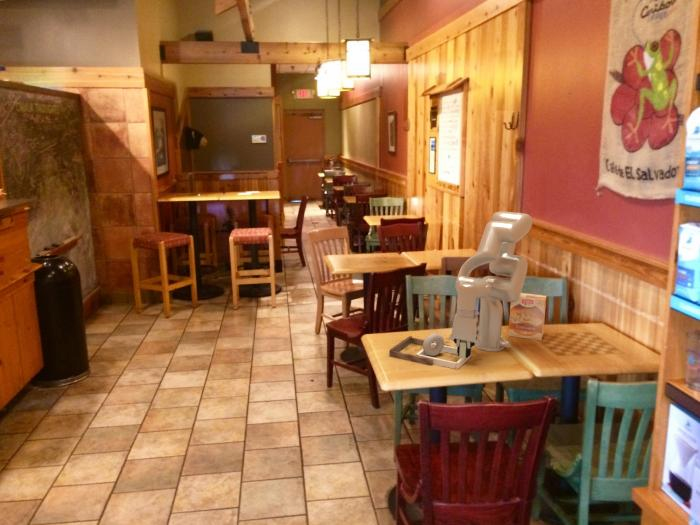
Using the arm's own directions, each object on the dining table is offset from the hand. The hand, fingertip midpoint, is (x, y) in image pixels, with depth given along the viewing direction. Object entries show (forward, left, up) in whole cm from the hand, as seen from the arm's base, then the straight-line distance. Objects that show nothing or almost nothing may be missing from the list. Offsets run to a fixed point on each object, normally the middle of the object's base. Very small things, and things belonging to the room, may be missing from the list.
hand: (463, 355), depth 240 cm
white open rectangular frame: (+9, 0, -3) cm, 9 cm away
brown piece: (+19, 0, -3) cm, 20 cm away
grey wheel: (+14, 0, -3) cm, 14 cm away
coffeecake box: (-13, -46, -3) cm, 48 cm away
